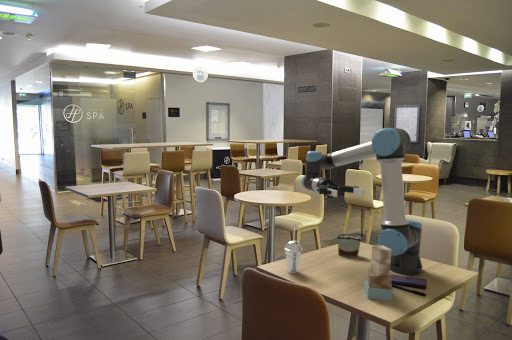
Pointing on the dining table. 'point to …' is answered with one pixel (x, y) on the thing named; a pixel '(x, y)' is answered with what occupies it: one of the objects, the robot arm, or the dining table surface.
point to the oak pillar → (380, 260)
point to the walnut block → (379, 281)
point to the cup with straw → (293, 254)
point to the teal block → (378, 292)
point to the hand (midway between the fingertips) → (350, 193)
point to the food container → (348, 244)
